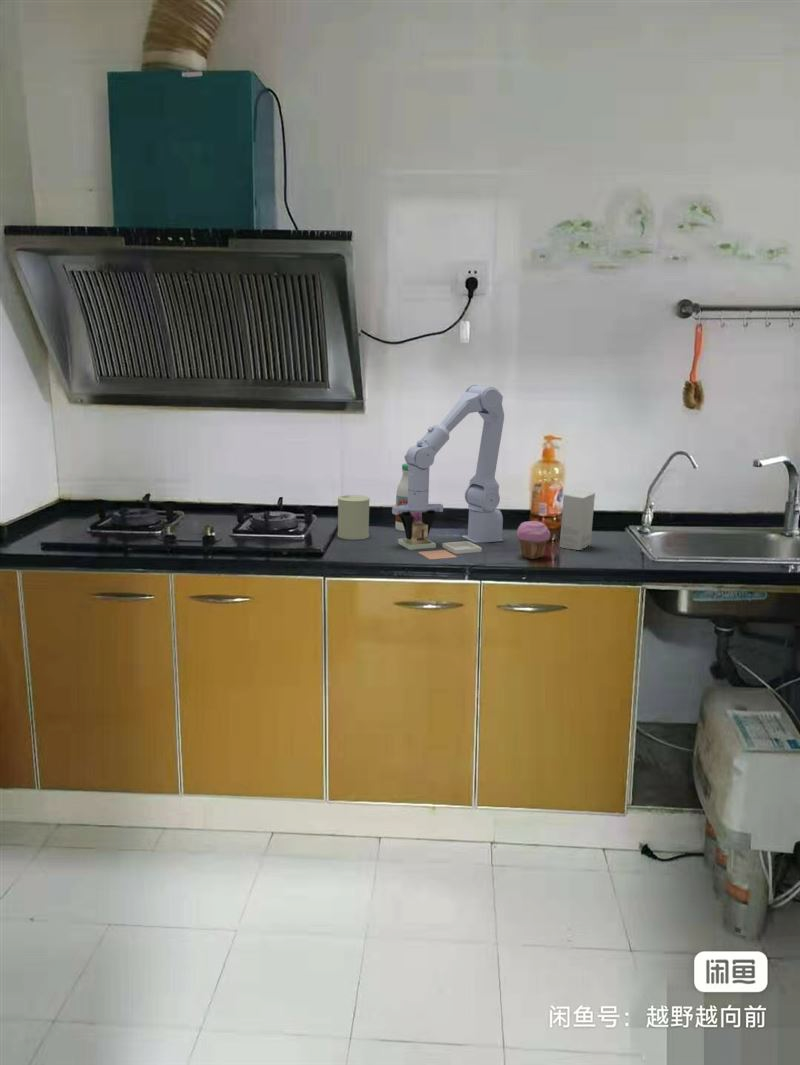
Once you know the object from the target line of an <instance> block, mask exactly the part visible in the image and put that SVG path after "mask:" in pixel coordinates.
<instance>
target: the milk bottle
mask: <svg viewBox="0 0 800 1065" xmlns="http://www.w3.org/2000/svg"><path fill="white" fill-rule="evenodd" d="M408 471H409V470H408V464H407V463H403V464H402V465H401V472H402V476H401V479H400V481H399V484H398V485H397V489H396V498H395V506H401V505H407V504H408ZM410 514H411V516H413V517H414V518H413V523H414V522H422V513H421V512H420V513H410ZM395 530H397V531H401V532H405V529H404V526H403V523H402V521H401V519H400V517H399V514H397V515H395Z"/></svg>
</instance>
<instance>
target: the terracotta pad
mask: <svg viewBox="0 0 800 1065" xmlns="http://www.w3.org/2000/svg"><path fill="white" fill-rule="evenodd" d="M417 553H418V554H420V555H422V556H423V557H425V558H427V559H428V560H430V561H431V560H444V559H445V560H446V559H454V558H458V556H457V555H456V554H454V553H452V552H450V551H449V550H447V549H438V550H436V549H435V550H426V551H417Z"/></svg>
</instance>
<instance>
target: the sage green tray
mask: <svg viewBox="0 0 800 1065" xmlns="http://www.w3.org/2000/svg"><path fill="white" fill-rule="evenodd" d="M406 539H407V538H406V537H405V538H399V539H397V544H399V545H400V546H402V547H404V548H405V549H407V550H411V551H412V550H421V549H423V550H424V549H434V548H435V549H436V547H437V543H435V542H434V541H432V540H430V539H428V538H427V544H416V545H410V544H408V543H407V542H406Z"/></svg>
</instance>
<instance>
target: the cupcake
mask: <svg viewBox="0 0 800 1065" xmlns="http://www.w3.org/2000/svg"><path fill="white" fill-rule="evenodd" d="M515 536H516V538H517V539H518V542H519V546H520V551H521V555H522V557H524V558H528V559H530V560H535V559H539V557H541V558H543V557H544V556H545V551H546V546H547V543H548V541H549V540H550V538H551V531H550V529H549V528H548V527H547V525H546V524H545V523H543V522H541V521H536V520H529V521H523V522H521V523H520V524H519V525H518V527H517V530H516V535H515Z"/></svg>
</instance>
